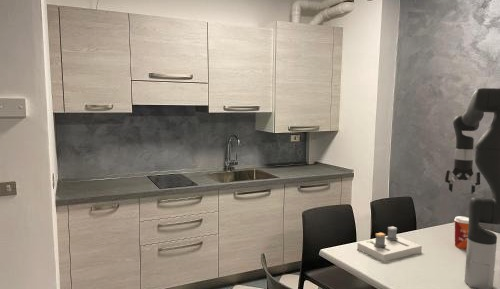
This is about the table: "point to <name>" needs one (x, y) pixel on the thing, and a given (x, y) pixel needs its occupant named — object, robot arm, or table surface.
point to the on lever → (392, 233)
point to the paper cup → (461, 231)
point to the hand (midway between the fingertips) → (461, 192)
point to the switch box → (390, 248)
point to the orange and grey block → (380, 240)
